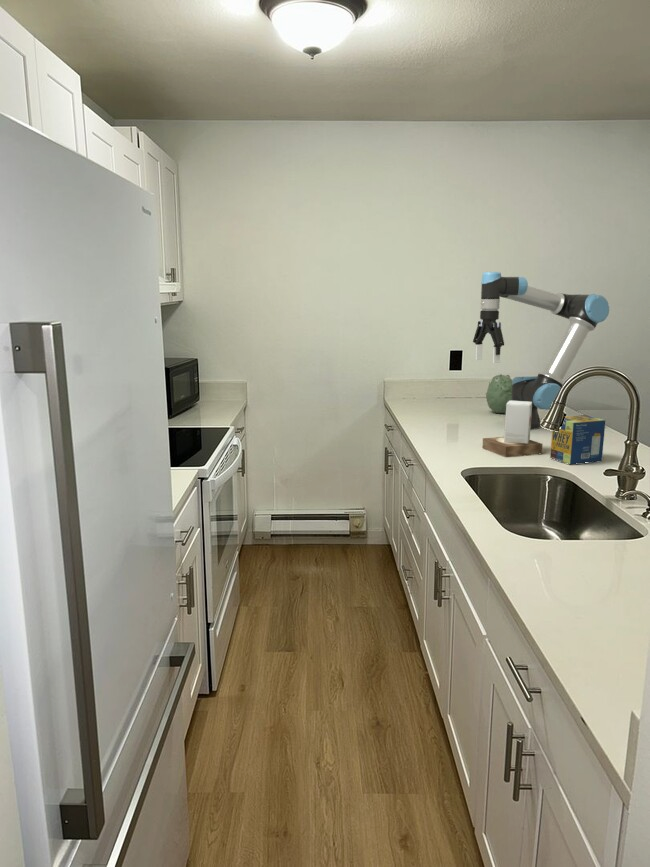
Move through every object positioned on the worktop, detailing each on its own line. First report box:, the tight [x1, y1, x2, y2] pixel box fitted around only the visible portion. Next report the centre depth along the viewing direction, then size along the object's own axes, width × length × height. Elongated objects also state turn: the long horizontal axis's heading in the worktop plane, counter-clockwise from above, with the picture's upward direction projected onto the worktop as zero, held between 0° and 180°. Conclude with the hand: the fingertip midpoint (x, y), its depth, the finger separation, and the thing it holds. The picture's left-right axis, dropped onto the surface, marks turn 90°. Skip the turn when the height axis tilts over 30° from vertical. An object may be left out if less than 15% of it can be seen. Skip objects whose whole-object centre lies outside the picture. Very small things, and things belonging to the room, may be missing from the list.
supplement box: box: [503, 401, 532, 444], centre depth 260 cm, size 9×9×15 cm
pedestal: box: [481, 436, 544, 458], centre depth 263 cm, size 16×16×4 cm
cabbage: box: [485, 373, 513, 414], centre depth 346 cm, size 16×19×20 cm
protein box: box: [549, 414, 606, 465], centre depth 248 cm, size 10×15×16 cm
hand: (487, 361), depth 287 cm, fingers open, 13 cm apart
